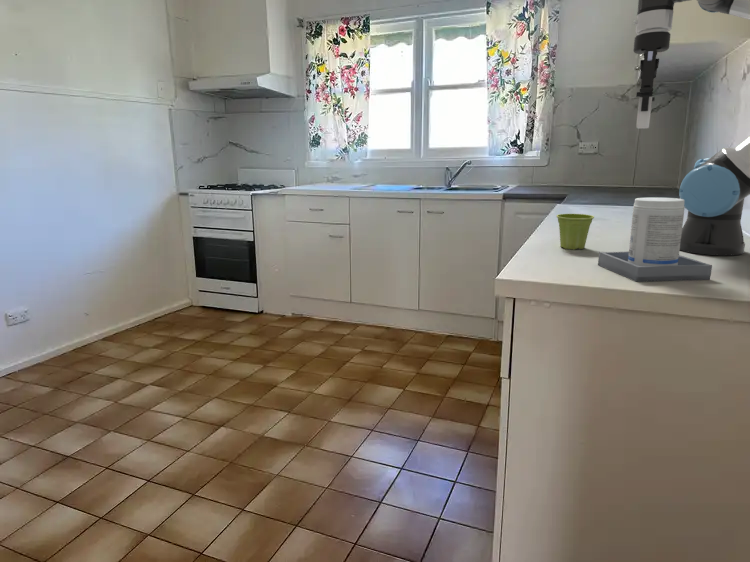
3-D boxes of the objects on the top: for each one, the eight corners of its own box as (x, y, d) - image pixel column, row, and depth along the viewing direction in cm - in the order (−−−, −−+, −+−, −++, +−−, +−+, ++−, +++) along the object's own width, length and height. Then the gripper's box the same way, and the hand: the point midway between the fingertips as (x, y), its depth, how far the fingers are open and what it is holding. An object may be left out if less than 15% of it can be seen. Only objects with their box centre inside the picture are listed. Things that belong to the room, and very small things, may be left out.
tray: (662, 263, 120) (664, 250, 119) (709, 279, 105) (712, 265, 104) (597, 264, 119) (599, 252, 118) (636, 281, 103) (638, 267, 103)
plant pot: (587, 252, 133) (590, 218, 131) (549, 248, 138) (552, 216, 136) (594, 246, 141) (597, 214, 138) (558, 243, 146) (561, 212, 143)
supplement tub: (685, 268, 110) (695, 199, 106) (661, 274, 105) (671, 202, 101) (641, 260, 118) (649, 196, 114) (617, 265, 113) (625, 198, 109)
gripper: (635, 44, 134) (627, 129, 139) (633, 24, 112) (624, 126, 117) (668, 41, 130) (658, 128, 135) (673, 20, 109) (661, 124, 114)
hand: (642, 127), depth 126 cm, fingers open, 13 cm apart
